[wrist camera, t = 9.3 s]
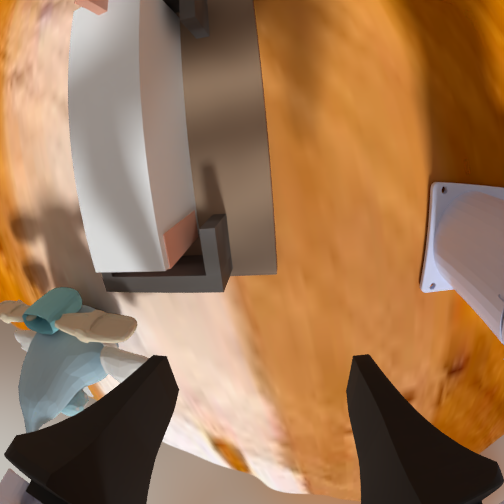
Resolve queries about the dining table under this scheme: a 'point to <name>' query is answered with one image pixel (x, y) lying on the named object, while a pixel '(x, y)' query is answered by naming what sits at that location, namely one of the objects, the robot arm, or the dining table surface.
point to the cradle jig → (220, 153)
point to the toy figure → (67, 353)
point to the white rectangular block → (130, 135)
